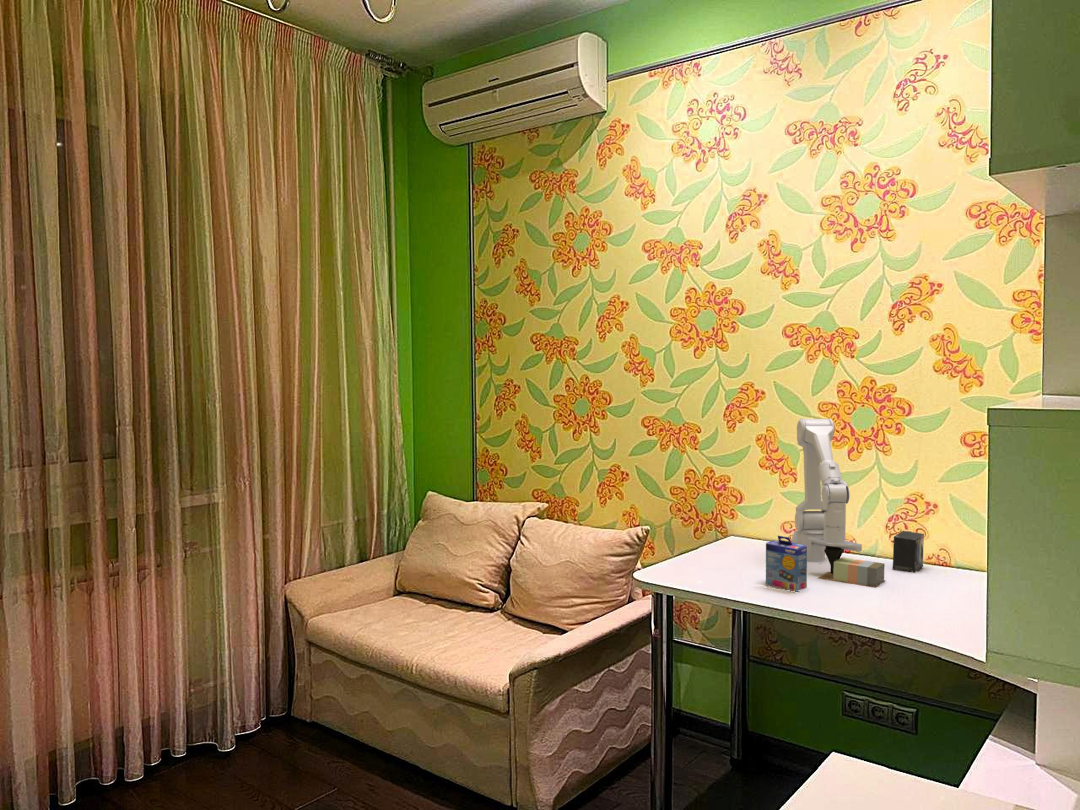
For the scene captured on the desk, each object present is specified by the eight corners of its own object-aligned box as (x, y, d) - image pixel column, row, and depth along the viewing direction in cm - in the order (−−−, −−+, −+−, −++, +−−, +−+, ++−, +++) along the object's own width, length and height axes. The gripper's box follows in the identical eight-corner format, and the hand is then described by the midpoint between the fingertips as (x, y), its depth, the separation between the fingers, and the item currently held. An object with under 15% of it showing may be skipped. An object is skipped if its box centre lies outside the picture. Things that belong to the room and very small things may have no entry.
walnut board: (816, 580, 234) (817, 578, 234) (828, 573, 241) (828, 571, 240) (875, 589, 224) (875, 587, 223) (885, 582, 231) (885, 580, 230)
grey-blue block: (857, 583, 228) (857, 565, 227) (865, 578, 233) (866, 560, 233) (867, 585, 226) (867, 567, 226) (875, 579, 231) (875, 562, 231)
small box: (915, 575, 238) (916, 539, 237) (891, 571, 242) (892, 536, 241) (924, 567, 246) (925, 532, 246) (901, 564, 250) (901, 530, 250)
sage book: (833, 579, 232) (833, 561, 231) (841, 574, 237) (842, 557, 237) (847, 582, 229) (848, 564, 229) (855, 576, 235) (856, 559, 234)
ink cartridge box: (764, 586, 228) (764, 534, 227) (774, 582, 232) (775, 531, 231) (797, 593, 221) (797, 539, 220) (807, 589, 225) (808, 536, 224)
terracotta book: (847, 582, 229) (848, 564, 229) (856, 576, 235) (856, 559, 234) (857, 583, 227) (857, 565, 227) (865, 578, 233) (865, 560, 233)
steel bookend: (867, 585, 226) (867, 567, 226) (875, 579, 231) (875, 562, 231) (876, 586, 224) (876, 568, 224) (884, 581, 230) (884, 563, 229)
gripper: (804, 524, 236) (803, 572, 236) (856, 531, 226) (855, 580, 227) (813, 520, 241) (812, 567, 242) (864, 527, 232) (863, 575, 233)
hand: (834, 573), depth 235 cm, fingers closed
